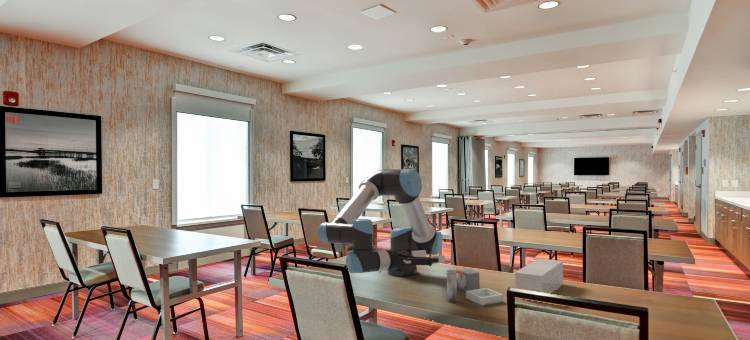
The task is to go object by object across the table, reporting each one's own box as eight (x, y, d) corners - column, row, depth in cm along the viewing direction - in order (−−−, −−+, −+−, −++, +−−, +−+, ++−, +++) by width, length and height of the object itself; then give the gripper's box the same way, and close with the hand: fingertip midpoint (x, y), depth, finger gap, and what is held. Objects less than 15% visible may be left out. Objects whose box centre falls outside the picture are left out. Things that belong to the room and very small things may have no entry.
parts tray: (466, 298, 178) (465, 291, 178) (486, 295, 182) (486, 288, 182) (481, 305, 169) (481, 298, 168) (503, 302, 172) (503, 294, 172)
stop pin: (445, 300, 176) (444, 270, 176) (453, 298, 178) (453, 269, 178) (450, 302, 173) (450, 272, 173) (459, 301, 174) (458, 271, 174)
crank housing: (454, 289, 192) (454, 269, 192) (470, 286, 195) (469, 267, 195) (463, 293, 185) (463, 272, 185) (479, 291, 188) (479, 270, 188)
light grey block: (539, 281, 204) (538, 258, 203) (563, 284, 197) (562, 261, 197) (515, 298, 178) (515, 272, 178) (542, 303, 172) (541, 275, 171)
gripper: (372, 264, 175) (418, 260, 183) (402, 276, 152) (452, 271, 161) (372, 245, 175) (418, 242, 184) (402, 255, 152) (452, 251, 161)
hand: (434, 256), depth 172 cm, fingers open, 13 cm apart
